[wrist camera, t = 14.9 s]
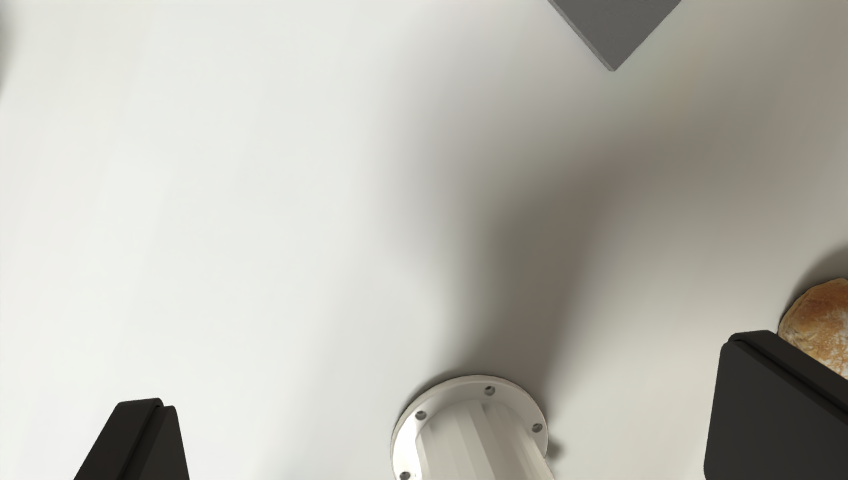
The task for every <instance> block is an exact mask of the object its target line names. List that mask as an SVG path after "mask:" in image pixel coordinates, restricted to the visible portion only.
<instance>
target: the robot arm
mask: <svg viewBox="0 0 848 480" xmlns="http://www.w3.org/2000/svg"><path fill="white" fill-rule="evenodd" d="M547 444H548V432H547V425H546V422H545V419H544V416H543V414H542V412H541V411H540V409H539V407H538V405H537V404H536V402H535V401H534V400H533V399H532V397H531V396H530V395H529V394H528V393H527V392H526V391H525V390H523V389H522V388H521V387H520V386H518V385H516V384H514V383H512V382H510V381H508V380H506V379H502V378H498V377H495V376H486V375H471V376H462V377H458V378H454V379H450V380H447V381H445V382H443V383H440V384H438V385H436V386H434V387H432V388H431V389H429V390H428V391H426V392H425V393H423V394H422V395H420V396H419V397H418V398H417V399H416V400H415V401H414V402H413V403H412V404H410V405H409V407H408V408H407V409H406V411H405V412H404V413H403V415H402V416H401V417H400V419H399V421H398V423H397V425H396V427H395V430H394V433H393V437H392V441H391V453H390V457H391V463H392V470H393V473H394V477H395V480H555V479H554V477H553V475H552V473H551V471H550V469H549V468H548V466H547V464H546V462H545V460H544V458H545V455H546V452H547ZM704 475H705V478H706V480H848V380H847V379H845V378H844V377H842V376H841V375H839V374H837V373H836V372H834V371H833V370H831V369H830V368H828V367H826V366H825V365H823V364H822V363H820V362H819V361H817V360H815V359H814V358H812V357H811V356H809V355H808V354H806V353H804V352H803V351H801V350H800V349H798V348H797V347H795V346H793V345H792V344H790V343H789V342H787V341H785V340H784V339H782V338H781V337H779V336H778V335H776V334H774V333H773V332H771V331H768V330H759V331H750V332H741V333H735V334H733V335H731V337H730V338H729V339H728V342H727V343H725V344H724V345H723V346H722V348H721V351H720V358H719V365H718V372H717V378H716V385H715V392H714V399H713V406H712V412H711V419H710V426H709V433H708V439H707V446H706V453H705V460H704ZM74 480H190V479H189V474H188V469H187V463H186V458H185V453H184V448H183V442H182V437H181V432H180V427H179V422H178V416H177V412H176V409H175V407H174V406H164V405H163V402H162V400H161V399H160V398H151V399H142V400H133V401H124V402H120V403H118V404H117V406H116V407H115V409H114V410H113V412H112V414H111V416H110V417H109V419H108V421H107V422H106V424H105V426H104V428H103V429H102V431H101V433H100V435H99V436H98V438H97V440H96V442H95V443H94V445H93V447H92V448H91V450H90V452H89V454H88V455H87V457H86V459H85V461H84V462H83V464H82V466H81V467H80V469H79V471H78V473H77V474H76V476H75V478H74Z"/></svg>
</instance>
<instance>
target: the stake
mask: <svg viewBox="0 0 848 480" xmlns="http://www.w3.org/2000/svg"><path fill="white" fill-rule="evenodd" d="M548 1H549V2H550V3H551V4H552V6H553V7H554V8H555V9H556V10H557V11H558V13H559V14H560V15H561V16H562V17H563V18H564V19H565V21H566V22H567V23H568V24H569V25H570V26H571V27H572V29H573V30H574V31H575V32H576V33H577V34H578V36H579V37H580V38H581V39H582V40H583V41H584V42H585V44H586V45H587V46H588V47H589V48H590V49H591V51H592V52H593V53H594V54H595V55H596V56H597V57H598V59H599V60H600V61H601V62H602V63H603V64H604V65H605V67H606V68H607V69H608V70H609V71H615V70H616V69H617V68H618V67H619V66H620V65H621V64H622V63H623V62H624V61H625V60H626V59H627V58H628V57H629V56H630V55H631V53H632V52H633V51H634V50H635V49H636V48H637V47H638V46H639V45H640V44H641V43H642V42H643V41H644V40H645V39H646V38H647V36H648V35H649V34H650V33H651V32H652V31H653V30H654V29H655V28H656V27H657V26H658V25H659V24H660V23H661V22H662V20H663V19H664V18H665V17H666V16H667V15H668V14H669V13H670V12H671V11H672V10H673V9H674V8H675V7H676V6H677V5H678V3H679V2H680V1H681V0H548Z"/></svg>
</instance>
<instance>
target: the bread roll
mask: <svg viewBox="0 0 848 480" xmlns="http://www.w3.org/2000/svg"><path fill="white" fill-rule="evenodd" d="M778 336H779V337H781V338H782V339H784V340H785V341H787V342H789V343H790V344H792V345H793V346H795V347H797V348H798V349H800V350H801V351H803V352H804V353H806V354H808V355H809V356H811V357H812V358H814V359H815V360H817V361H819V362H820V363H822V364H823V365H825V366H826V367H828V368H830V369H831V370H833V371H834V372H836V373H837V374H839V375H841V376H842V377H844V378H845V379H847V380H848V280H846V279H844V278H837V279H834V280H829V281H828V282H826V283H823V284H820V285H815V286H813V287H811V288H809V290H807V291H806V293H805V294H803V295H802V296H801V297H799V298H798V299H797V300H795V302H794V304H793V305H792V306H791V308H790V309H789V310H788V311H787V312H786V314H785V315H784V317H783V318H782V320H781V323H780V325H779V328H778Z"/></svg>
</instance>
